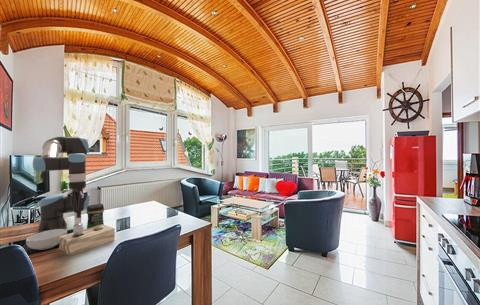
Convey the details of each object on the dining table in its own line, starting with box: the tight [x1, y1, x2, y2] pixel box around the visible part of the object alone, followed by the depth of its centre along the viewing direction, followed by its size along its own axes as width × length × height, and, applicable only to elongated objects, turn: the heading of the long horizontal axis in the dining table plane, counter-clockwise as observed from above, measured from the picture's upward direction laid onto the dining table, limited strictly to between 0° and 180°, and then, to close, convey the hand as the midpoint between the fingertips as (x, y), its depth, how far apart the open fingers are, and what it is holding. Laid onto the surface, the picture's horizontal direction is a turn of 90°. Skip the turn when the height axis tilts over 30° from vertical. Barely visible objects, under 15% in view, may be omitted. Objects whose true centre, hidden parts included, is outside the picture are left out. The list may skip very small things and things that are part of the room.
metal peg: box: [72, 222, 84, 238], centre depth 115 cm, size 4×4×7 cm
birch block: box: [58, 224, 116, 256], centre depth 119 cm, size 14×22×7 cm, turn 150°
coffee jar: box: [86, 203, 105, 229], centre depth 137 cm, size 10×8×19 cm
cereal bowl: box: [25, 228, 68, 251], centre depth 116 cm, size 17×17×7 cm
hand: (77, 223), depth 115 cm, fingers closed
